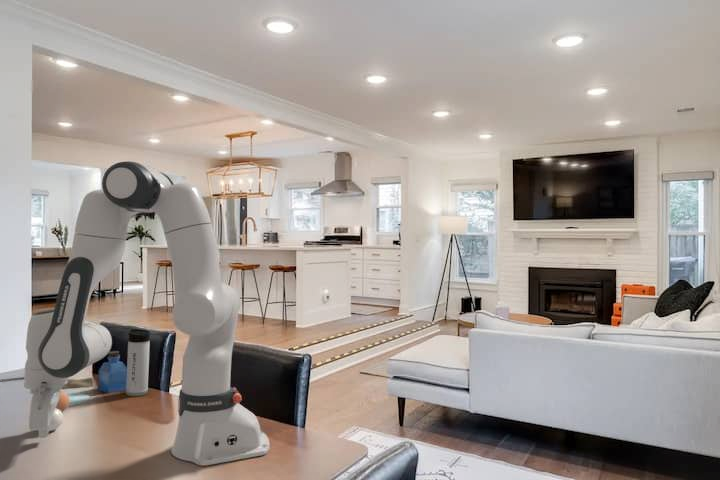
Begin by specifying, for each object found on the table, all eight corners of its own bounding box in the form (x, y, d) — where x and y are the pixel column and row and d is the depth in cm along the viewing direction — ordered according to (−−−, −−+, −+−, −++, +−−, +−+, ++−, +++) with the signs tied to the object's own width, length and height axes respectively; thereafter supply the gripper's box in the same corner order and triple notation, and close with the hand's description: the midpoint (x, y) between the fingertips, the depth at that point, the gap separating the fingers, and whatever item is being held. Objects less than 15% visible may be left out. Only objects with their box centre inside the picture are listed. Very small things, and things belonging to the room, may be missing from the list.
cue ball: (65, 425, 129) (66, 404, 129) (59, 433, 123) (60, 411, 124) (40, 427, 127) (41, 405, 127) (34, 435, 122) (35, 413, 122)
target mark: (93, 392, 157) (93, 391, 157) (84, 406, 143) (84, 405, 143) (42, 394, 152) (42, 393, 152) (28, 409, 139) (28, 408, 139)
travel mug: (140, 389, 162) (142, 327, 162) (151, 393, 158) (154, 330, 158) (121, 393, 157) (124, 329, 157) (132, 397, 153) (135, 332, 153)
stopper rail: (92, 384, 164) (93, 377, 164) (92, 386, 163) (92, 378, 163) (43, 388, 158) (43, 380, 158) (42, 389, 157) (42, 381, 157)
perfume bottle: (127, 389, 161) (128, 352, 161) (108, 393, 156) (110, 355, 156) (115, 385, 165) (117, 349, 165) (97, 389, 160) (99, 352, 160)
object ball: (71, 408, 141) (71, 389, 141) (66, 415, 136) (67, 394, 136) (48, 409, 140) (49, 390, 140) (43, 416, 134) (44, 396, 134)
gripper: (56, 388, 110) (53, 451, 110) (66, 366, 128) (63, 419, 128) (22, 390, 107) (19, 455, 107) (37, 367, 126) (34, 422, 125)
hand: (43, 435), depth 118 cm, fingers closed
